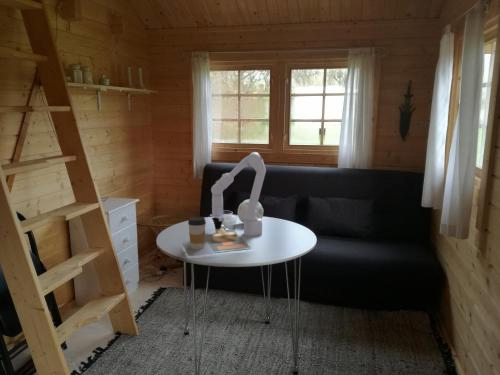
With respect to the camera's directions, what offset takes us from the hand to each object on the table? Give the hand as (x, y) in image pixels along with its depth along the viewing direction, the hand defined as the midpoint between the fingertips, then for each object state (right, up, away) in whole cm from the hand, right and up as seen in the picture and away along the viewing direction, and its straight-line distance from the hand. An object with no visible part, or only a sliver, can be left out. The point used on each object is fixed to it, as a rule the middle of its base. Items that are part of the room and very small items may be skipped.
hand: (217, 230), depth 214 cm
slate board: (+5, -5, -13) cm, 15 cm away
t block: (+3, -2, -8) cm, 9 cm away
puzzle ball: (+18, +1, +20) cm, 26 cm away
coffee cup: (-8, -6, -22) cm, 24 cm away
